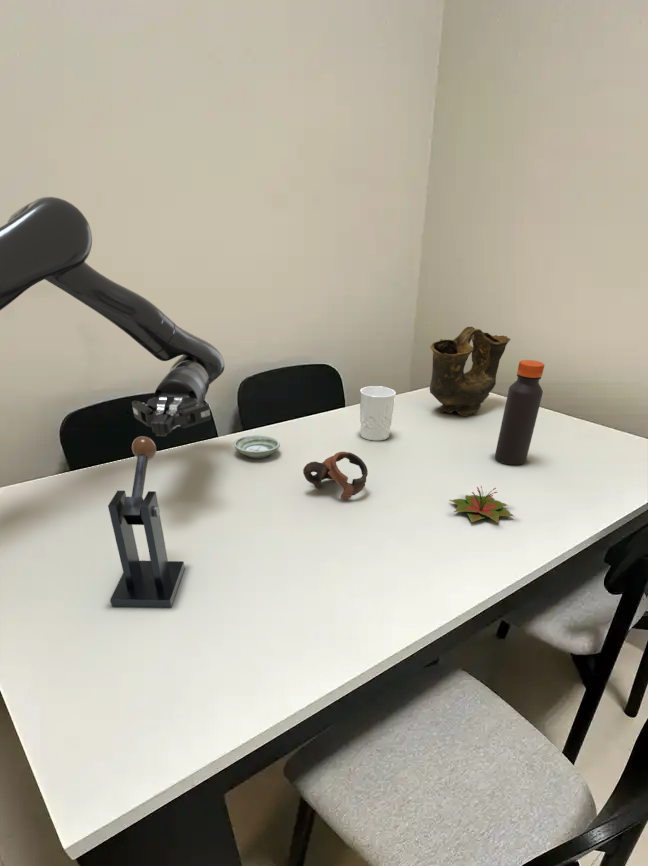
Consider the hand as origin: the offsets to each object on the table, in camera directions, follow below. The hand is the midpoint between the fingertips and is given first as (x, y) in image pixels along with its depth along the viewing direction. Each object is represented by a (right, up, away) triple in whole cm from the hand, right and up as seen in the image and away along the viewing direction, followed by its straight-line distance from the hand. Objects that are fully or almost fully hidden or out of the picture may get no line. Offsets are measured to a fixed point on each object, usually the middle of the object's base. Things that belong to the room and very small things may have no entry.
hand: (159, 429), depth 88 cm
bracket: (0, -24, -4) cm, 24 cm away
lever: (0, -10, -9) cm, 13 cm away
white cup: (+35, +14, +47) cm, 60 cm away
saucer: (+9, +7, +36) cm, 37 cm away
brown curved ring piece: (+26, -4, +23) cm, 35 cm away
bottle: (+64, +6, +40) cm, 76 cm away
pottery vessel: (+58, +27, +65) cm, 91 cm away
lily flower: (+53, -9, +19) cm, 57 cm away
